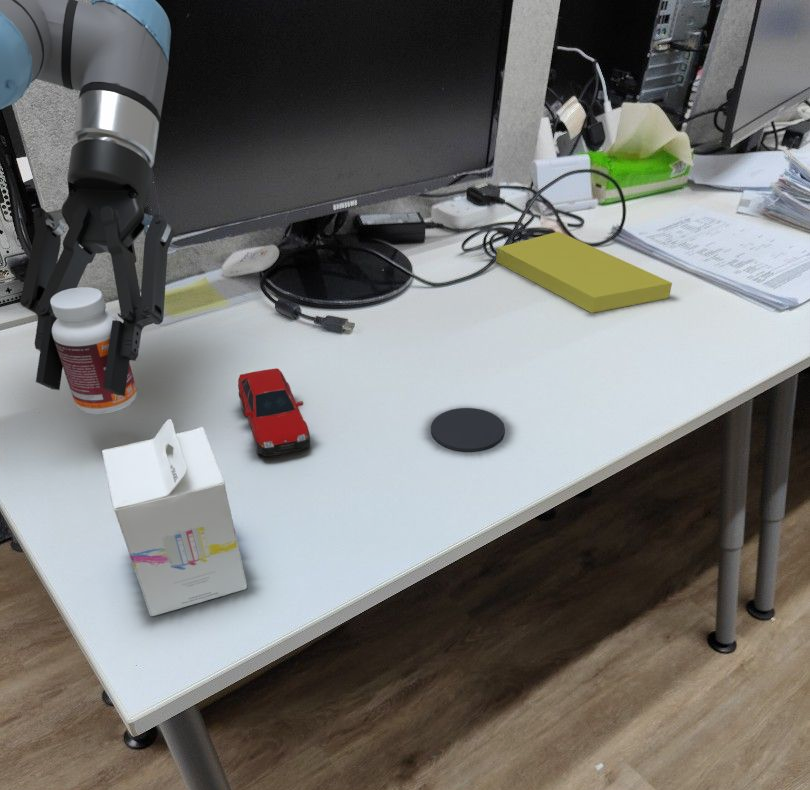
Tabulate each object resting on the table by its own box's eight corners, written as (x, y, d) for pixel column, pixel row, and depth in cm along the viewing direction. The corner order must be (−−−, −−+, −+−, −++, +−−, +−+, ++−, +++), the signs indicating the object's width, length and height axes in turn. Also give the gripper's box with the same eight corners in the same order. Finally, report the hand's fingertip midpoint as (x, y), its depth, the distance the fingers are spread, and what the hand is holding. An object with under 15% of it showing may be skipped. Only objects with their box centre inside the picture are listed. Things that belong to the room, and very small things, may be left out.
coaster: (417, 423, 84) (417, 420, 84) (477, 403, 87) (477, 400, 87) (456, 460, 79) (456, 456, 78) (519, 437, 82) (519, 434, 81)
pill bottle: (126, 417, 76) (95, 312, 68) (66, 415, 76) (29, 311, 69) (146, 385, 80) (119, 284, 73) (89, 383, 81) (57, 282, 73)
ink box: (134, 555, 69) (91, 429, 60) (226, 529, 71) (198, 405, 62) (150, 619, 63) (105, 491, 54) (249, 589, 65) (222, 461, 56)
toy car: (258, 467, 78) (250, 426, 75) (235, 398, 89) (227, 360, 85) (318, 454, 80) (313, 413, 77) (289, 388, 90) (283, 350, 87)
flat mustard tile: (496, 261, 118) (603, 319, 102) (497, 247, 116) (606, 303, 101) (557, 245, 122) (668, 298, 107) (558, 231, 121) (672, 282, 105)
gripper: (220, 182, 77) (190, 406, 76) (46, 174, 80) (14, 390, 78) (190, 138, 70) (156, 386, 68) (-1, 131, 72) (-37, 370, 71)
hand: (80, 388), depth 73 cm, fingers closed on pill bottle, 6 cm apart
